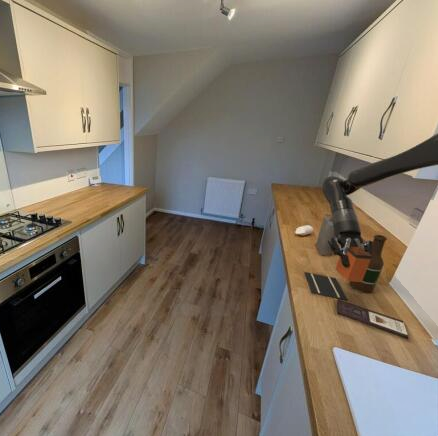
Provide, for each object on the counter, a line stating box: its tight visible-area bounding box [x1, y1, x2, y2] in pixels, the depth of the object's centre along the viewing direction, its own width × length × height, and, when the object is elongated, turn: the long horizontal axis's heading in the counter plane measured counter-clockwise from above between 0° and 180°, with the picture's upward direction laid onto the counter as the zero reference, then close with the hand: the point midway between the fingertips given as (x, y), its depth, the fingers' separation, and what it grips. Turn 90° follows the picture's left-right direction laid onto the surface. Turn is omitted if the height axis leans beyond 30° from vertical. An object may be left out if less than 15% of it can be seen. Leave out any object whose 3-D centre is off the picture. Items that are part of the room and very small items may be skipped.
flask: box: [315, 215, 336, 257], centre depth 128 cm, size 15×6×20 cm, turn 154°
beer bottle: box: [349, 234, 388, 294], centre depth 96 cm, size 8×8×24 cm
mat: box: [304, 271, 349, 302], centre depth 101 cm, size 12×16×1 cm
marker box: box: [335, 246, 372, 282], centre depth 85 cm, size 5×8×10 cm, turn 171°
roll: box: [294, 224, 314, 237], centre depth 150 cm, size 6×12×6 cm, turn 116°
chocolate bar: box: [336, 299, 409, 340], centre depth 84 cm, size 9×1×18 cm
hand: (355, 267), depth 83 cm, fingers closed on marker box, 4 cm apart
